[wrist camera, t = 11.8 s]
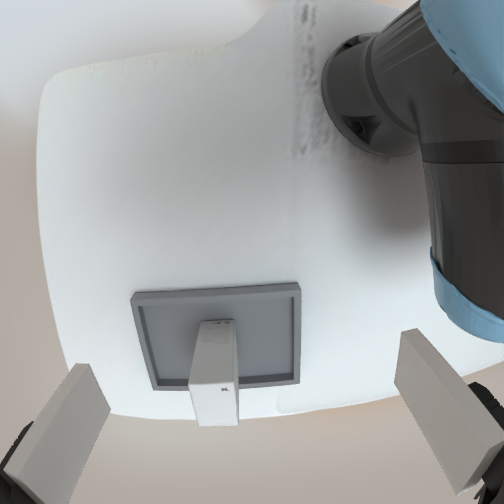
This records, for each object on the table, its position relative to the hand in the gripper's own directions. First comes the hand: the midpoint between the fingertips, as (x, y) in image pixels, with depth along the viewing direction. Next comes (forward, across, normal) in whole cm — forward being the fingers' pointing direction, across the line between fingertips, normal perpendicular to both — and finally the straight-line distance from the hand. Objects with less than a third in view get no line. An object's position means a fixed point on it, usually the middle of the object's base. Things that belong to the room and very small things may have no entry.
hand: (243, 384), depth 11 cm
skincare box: (+24, -5, -12) cm, 27 cm away
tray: (+24, -5, -12) cm, 27 cm away
